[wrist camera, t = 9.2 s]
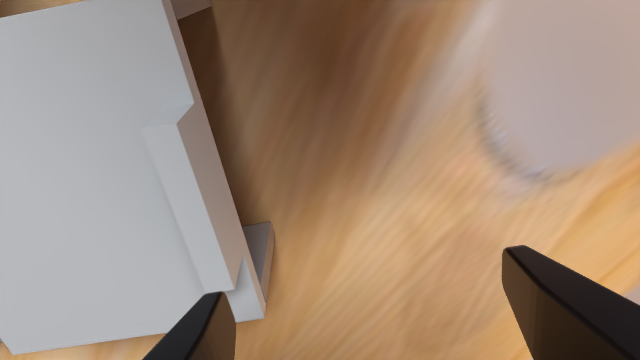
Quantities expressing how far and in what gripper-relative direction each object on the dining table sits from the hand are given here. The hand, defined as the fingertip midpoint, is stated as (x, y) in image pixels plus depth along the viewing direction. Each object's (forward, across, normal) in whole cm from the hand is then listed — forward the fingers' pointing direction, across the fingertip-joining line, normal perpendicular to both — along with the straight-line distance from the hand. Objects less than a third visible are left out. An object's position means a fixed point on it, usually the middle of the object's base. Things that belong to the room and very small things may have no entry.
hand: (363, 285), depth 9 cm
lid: (+7, +10, 0) cm, 12 cm away
